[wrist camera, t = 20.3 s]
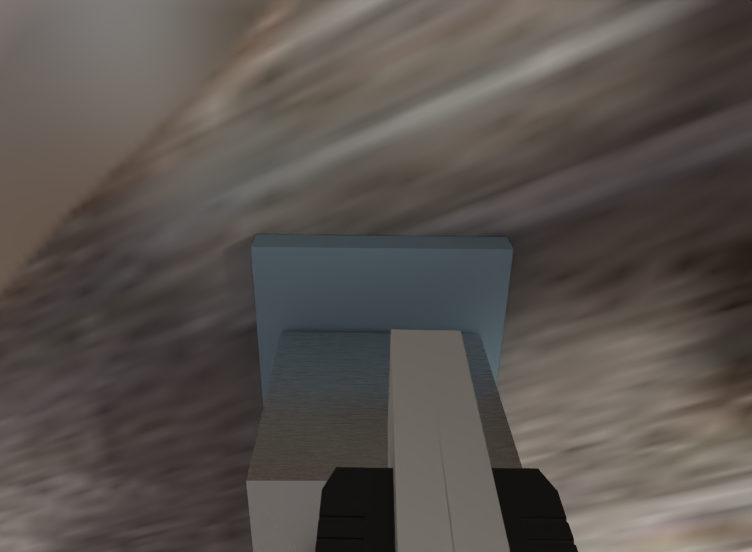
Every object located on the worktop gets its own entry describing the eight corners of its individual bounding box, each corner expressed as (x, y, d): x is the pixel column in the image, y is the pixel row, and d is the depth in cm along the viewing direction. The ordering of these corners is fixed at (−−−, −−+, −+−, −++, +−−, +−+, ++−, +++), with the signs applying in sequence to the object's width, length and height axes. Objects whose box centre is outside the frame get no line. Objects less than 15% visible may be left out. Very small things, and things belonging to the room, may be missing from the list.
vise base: (506, 237, 30) (581, 377, 19) (467, 568, 40) (502, 776, 30) (256, 234, 30) (197, 375, 19) (280, 568, 40) (250, 778, 29)
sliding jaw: (479, 333, 30) (526, 481, 21) (467, 446, 33) (504, 615, 24) (280, 332, 30) (246, 480, 21) (287, 445, 33) (259, 615, 24)
